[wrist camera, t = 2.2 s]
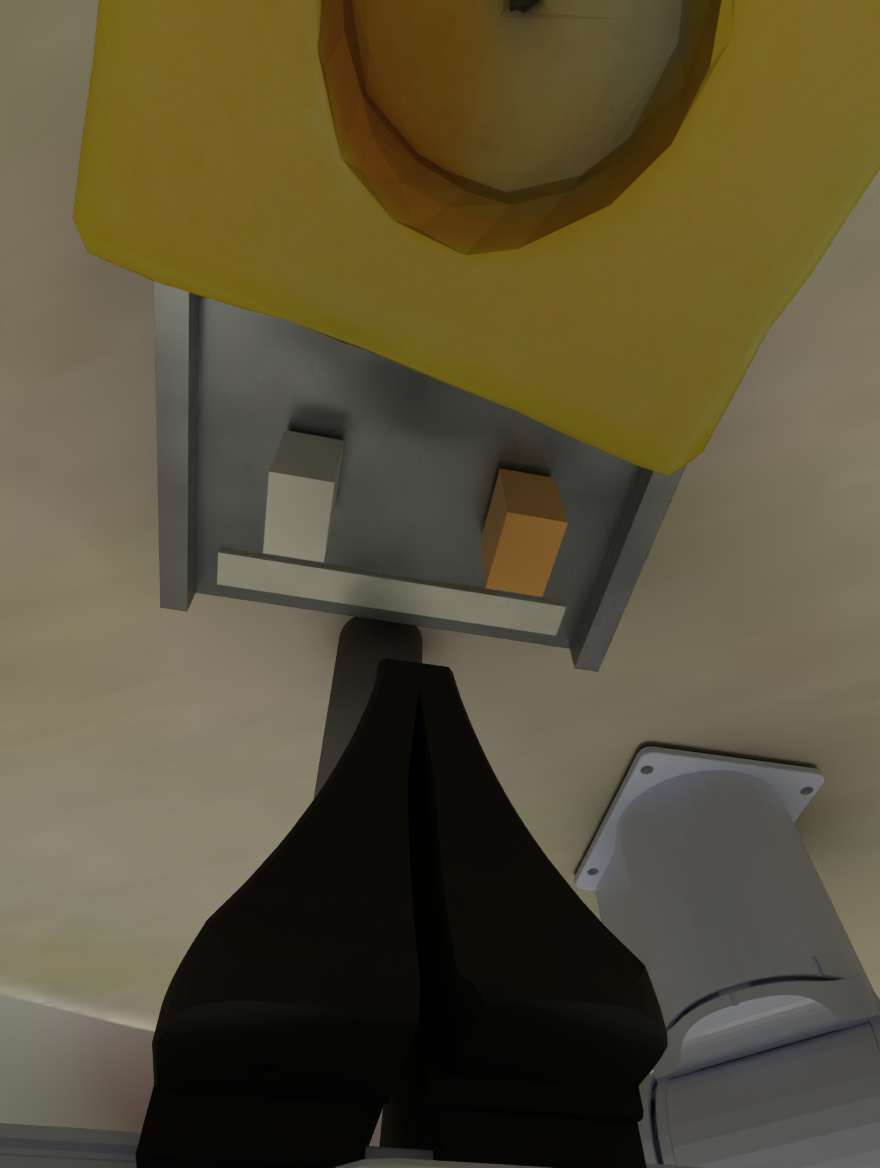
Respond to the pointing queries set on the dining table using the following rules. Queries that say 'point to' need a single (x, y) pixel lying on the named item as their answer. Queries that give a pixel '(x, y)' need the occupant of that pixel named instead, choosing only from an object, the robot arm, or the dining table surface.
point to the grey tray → (377, 485)
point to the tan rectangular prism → (522, 533)
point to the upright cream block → (302, 496)
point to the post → (360, 679)
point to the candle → (494, 184)
